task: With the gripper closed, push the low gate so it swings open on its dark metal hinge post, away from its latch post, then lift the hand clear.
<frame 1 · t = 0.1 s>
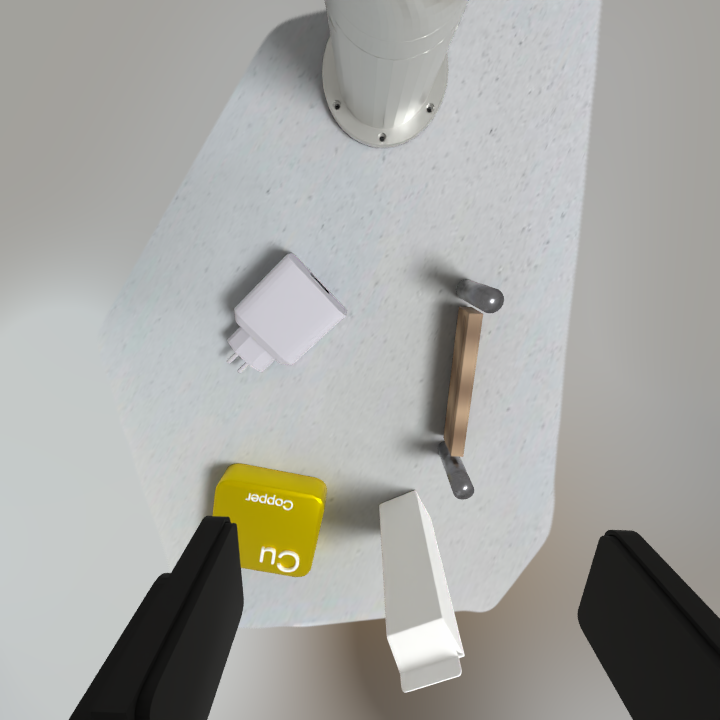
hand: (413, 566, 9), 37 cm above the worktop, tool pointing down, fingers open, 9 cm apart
charger: (279, 322, 45), on the worktop
latch post: (446, 448, 50), on the worktop
element tile: (272, 509, 54), on the worktop
hinge post: (466, 289, 43), on the worktop
gate: (461, 382, 44), point 3 cm above the worktop, hinge at 0.0°
milk: (405, 510, 54), on the worktop
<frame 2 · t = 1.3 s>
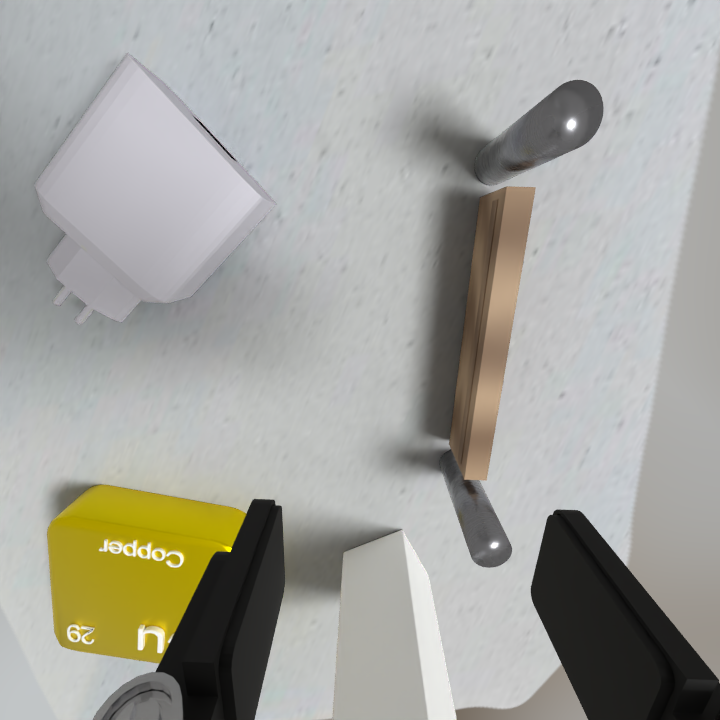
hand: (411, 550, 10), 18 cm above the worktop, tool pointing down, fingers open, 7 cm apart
charger: (157, 232, 25), on the worktop
latch post: (454, 462, 29), on the worktop
element tile: (169, 556, 34), on the worktop
hinge post: (493, 164, 23), on the worktop
gate: (483, 342, 23), point 3 cm above the worktop, hinge at 0.0°
milk: (386, 561, 33), on the worktop
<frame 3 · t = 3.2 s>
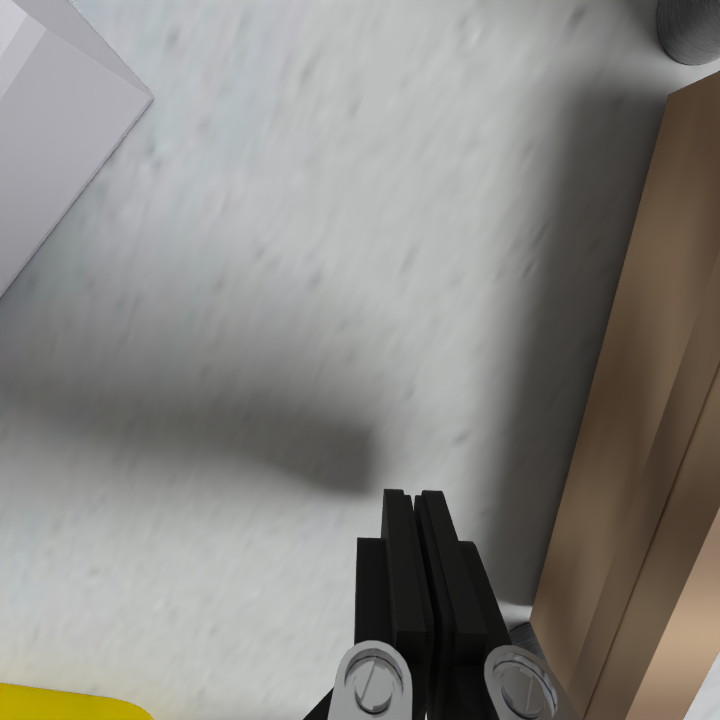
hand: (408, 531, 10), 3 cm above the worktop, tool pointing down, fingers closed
latch post: (532, 641, 16), on the worktop
hinge post: (709, 3, 8), on the worktop
gate: (658, 467, 9), point 3 cm above the worktop, hinge at 0.0°
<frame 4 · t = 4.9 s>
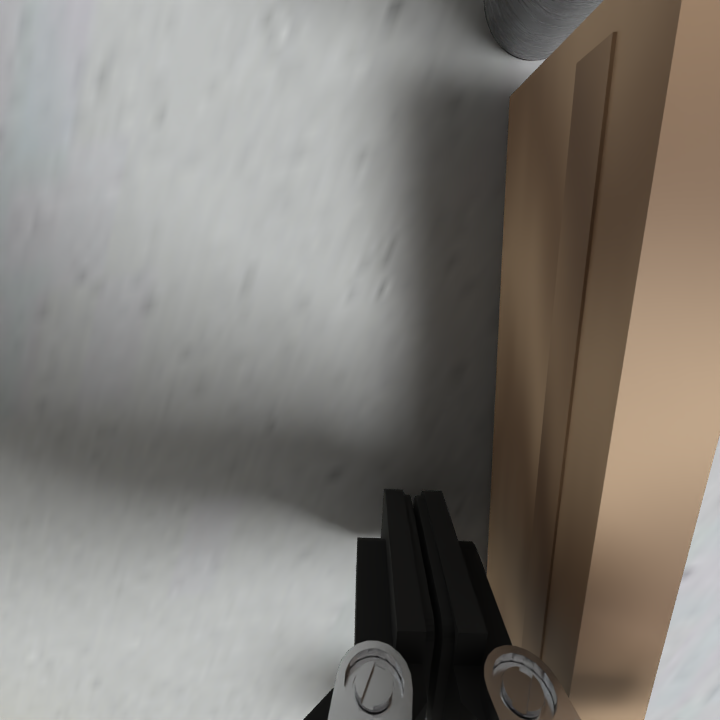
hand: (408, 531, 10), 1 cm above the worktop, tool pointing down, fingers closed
gate: (558, 515, 8), point 3 cm above the worktop, hinge at 5.1°, touching gripper
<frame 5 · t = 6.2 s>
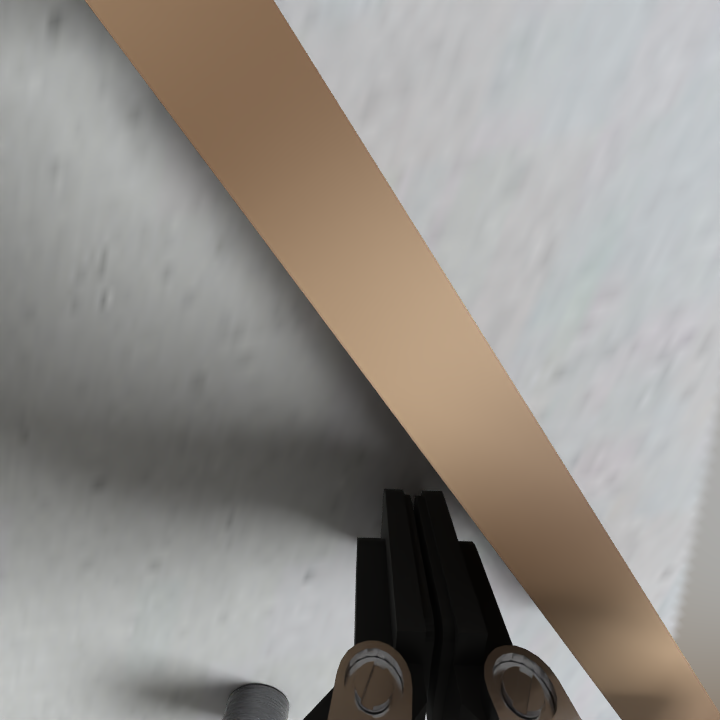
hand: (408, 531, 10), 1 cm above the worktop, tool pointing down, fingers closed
latch post: (258, 705, 14), on the worktop
gate: (494, 453, 7), point 3 cm above the worktop, hinge at 36.6°, touching gripper
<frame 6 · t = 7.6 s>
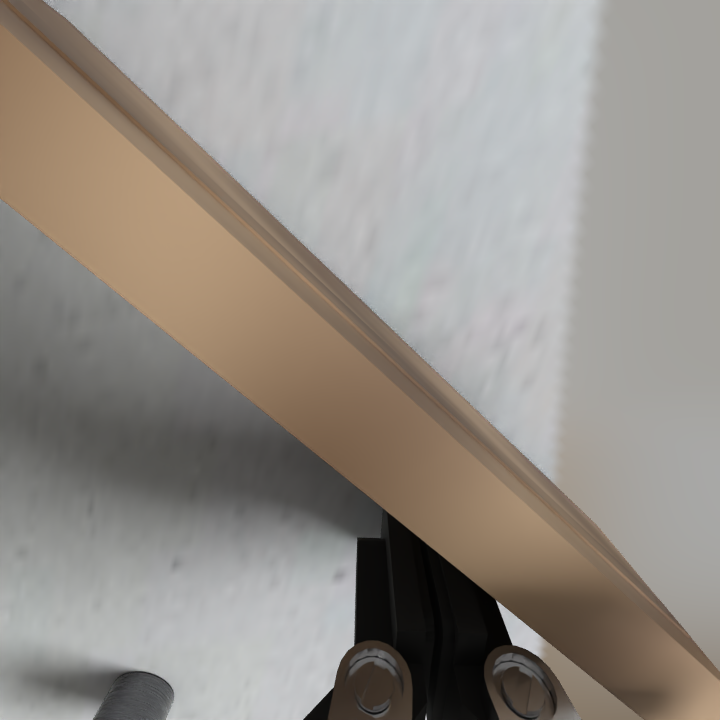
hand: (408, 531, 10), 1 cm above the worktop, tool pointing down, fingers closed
latch post: (143, 693, 14), on the worktop
gate: (362, 371, 7), point 3 cm above the worktop, hinge at 48.2°, touching gripper
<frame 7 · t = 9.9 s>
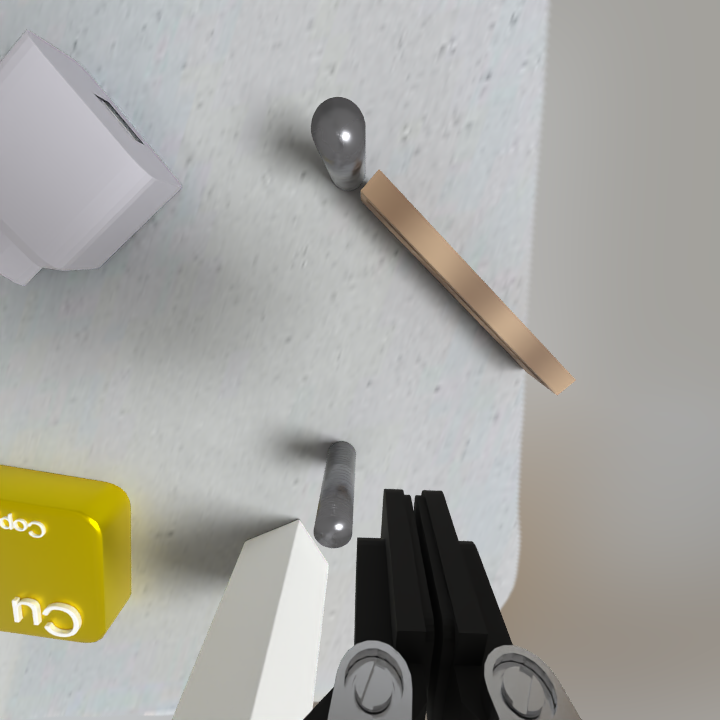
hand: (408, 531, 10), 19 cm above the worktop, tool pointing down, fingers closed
charger: (70, 204, 26), on the worktop
latch post: (341, 453, 31), on the worktop
element tile: (56, 533, 35), on the worktop
hinge post: (347, 171, 24), on the worktop
gate: (466, 288, 24), point 3 cm above the worktop, hinge at 48.3°
milk: (288, 550, 34), on the worktop
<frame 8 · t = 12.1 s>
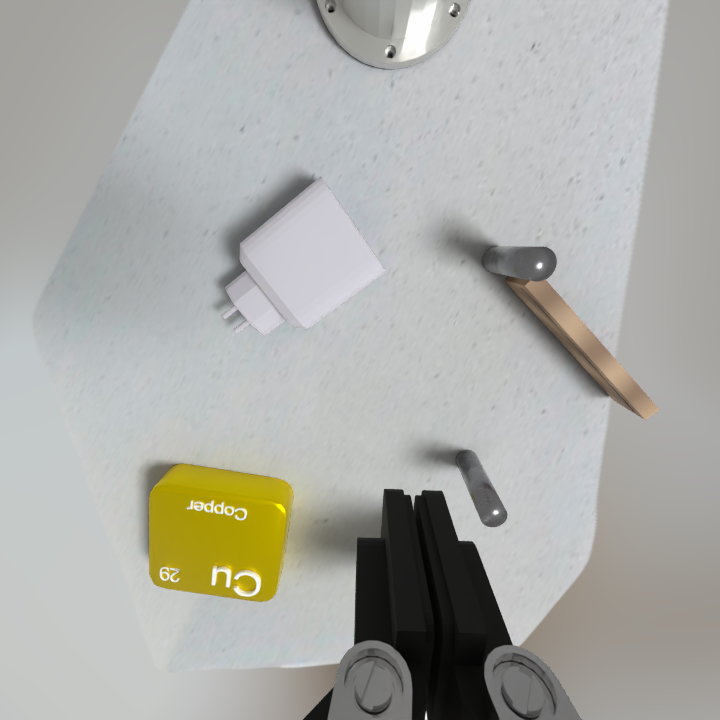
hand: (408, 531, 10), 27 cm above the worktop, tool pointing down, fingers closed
charger: (294, 275, 35), on the worktop
latch post: (466, 459, 41), on the worktop
element tile: (229, 518, 44), on the worktop
hinge post: (495, 259, 34), on the worktop
gate: (580, 344, 34), point 3 cm above the worktop, hinge at 48.3°
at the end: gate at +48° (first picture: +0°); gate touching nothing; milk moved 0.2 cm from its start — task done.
